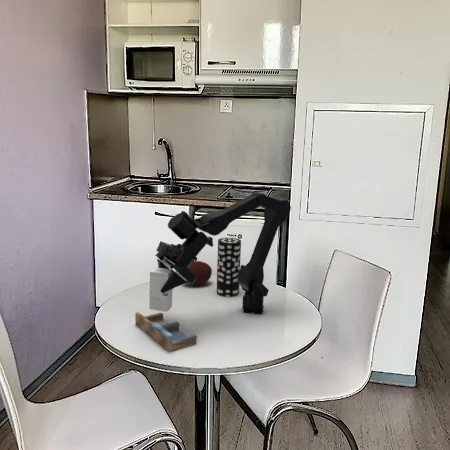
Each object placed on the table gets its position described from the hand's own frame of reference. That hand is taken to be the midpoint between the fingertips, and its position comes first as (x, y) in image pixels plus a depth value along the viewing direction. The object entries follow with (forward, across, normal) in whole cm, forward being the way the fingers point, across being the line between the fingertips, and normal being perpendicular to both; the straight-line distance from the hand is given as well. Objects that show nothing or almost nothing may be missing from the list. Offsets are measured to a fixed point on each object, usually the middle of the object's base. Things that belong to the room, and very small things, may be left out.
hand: (156, 288), depth 147 cm
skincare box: (+4, 0, +6) cm, 7 cm away
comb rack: (+9, +4, +10) cm, 14 cm away
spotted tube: (-15, -18, +34) cm, 41 cm away
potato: (-10, -31, +30) cm, 44 cm away
